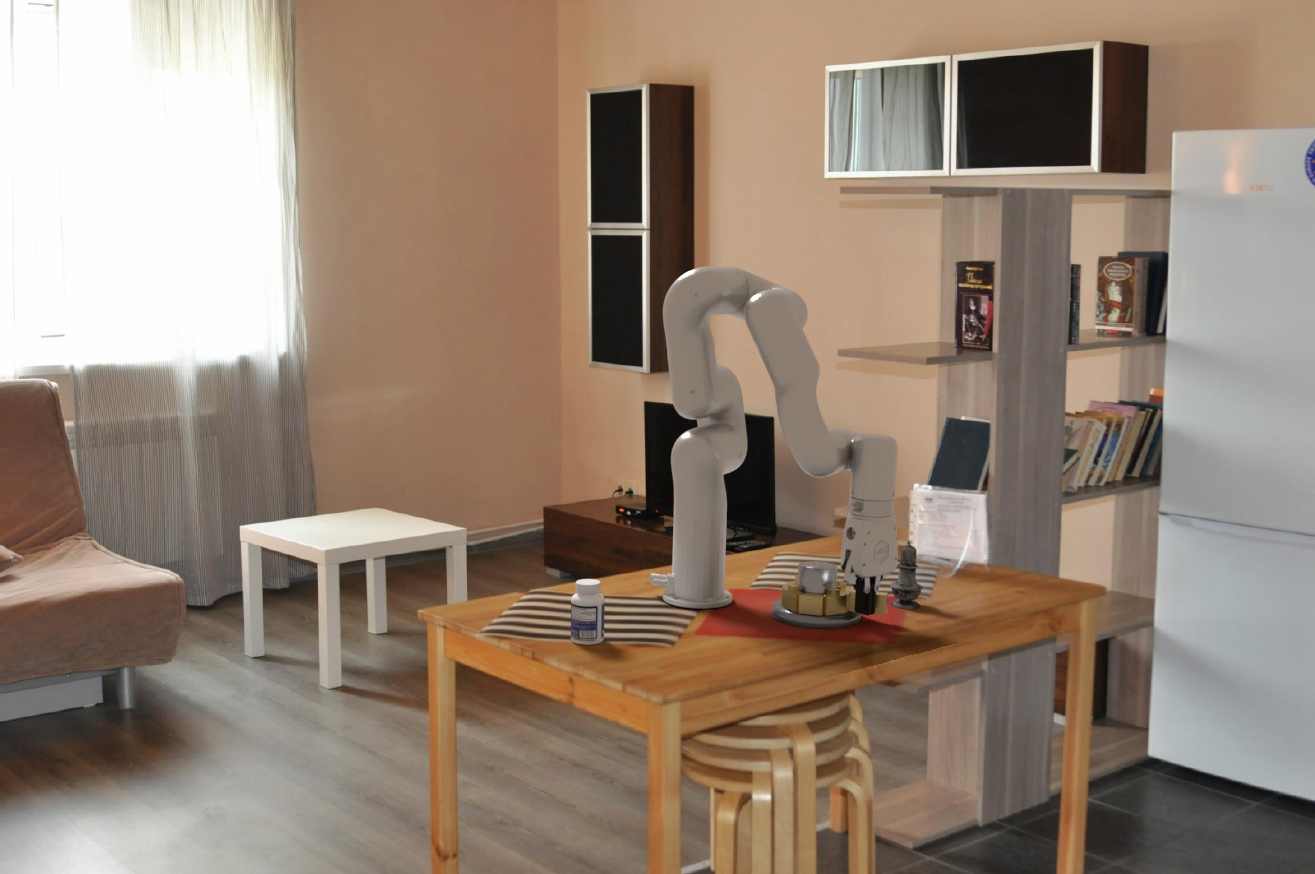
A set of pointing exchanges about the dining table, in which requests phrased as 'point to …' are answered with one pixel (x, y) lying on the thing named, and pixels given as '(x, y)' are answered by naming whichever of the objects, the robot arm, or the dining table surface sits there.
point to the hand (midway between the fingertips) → (864, 613)
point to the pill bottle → (587, 613)
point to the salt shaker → (906, 580)
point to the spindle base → (815, 581)
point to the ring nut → (826, 600)
